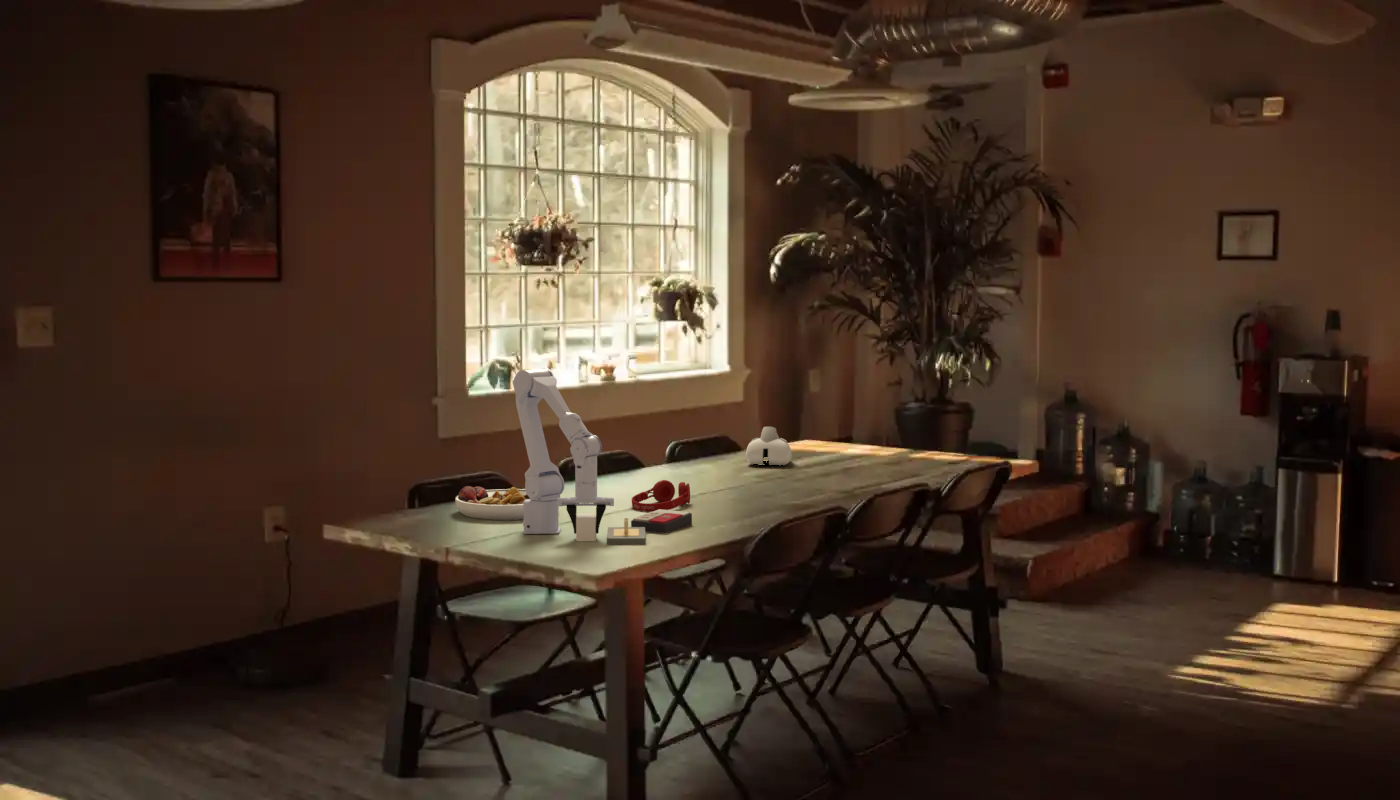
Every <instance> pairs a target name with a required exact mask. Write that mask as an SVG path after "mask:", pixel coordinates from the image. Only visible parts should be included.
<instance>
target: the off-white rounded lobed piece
mask: <svg viewBox="0 0 1400 800" xmlns="http://www.w3.org/2000/svg"><path fill="white" fill-rule="evenodd" d="M760 433H761V434H760V437H755V438H752V439H751V441H750V442H749V443H748V444H747V447H746V451H745V460H747V463H748V464H751V465H753V464H762V465H763V464H764V463H765V462H763V458H764V457H768V461H769V462H768V465H769V466H770V465H779V466H778V467H782V466H781V465H783V466H786V465H787V464H789V463H790V462H791V460H792V455H793V453H792V450H791V447H790V444H789V443H788V440H786V439H784V438H782V437H779V434H778V432H777V428H776V427H773V426H763V428H762V429H761V432H760Z"/></svg>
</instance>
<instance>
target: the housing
mask: <svg viewBox="0 0 1400 800" xmlns="http://www.w3.org/2000/svg"><path fill="white" fill-rule="evenodd" d="M575 538H576V539H575V542H596V541H597V534H596V512H593V513H592V512H576V534H575Z"/></svg>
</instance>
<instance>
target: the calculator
mask: <svg viewBox="0 0 1400 800" xmlns="http://www.w3.org/2000/svg"><path fill="white" fill-rule="evenodd" d="M690 526H693V513H692V512H690V511H681V510H673V509H670V510H662V509H658V510H656V511H653V512H649V511H648V512H647V513H644V514H642V515H639V516H636V517H633V519H631V521H630V527H645V533H646V532H647V533H656V534H657V533H658V534H668V533H671V532H675V531H677V530H680V529H682V528H688V527H690Z"/></svg>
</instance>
